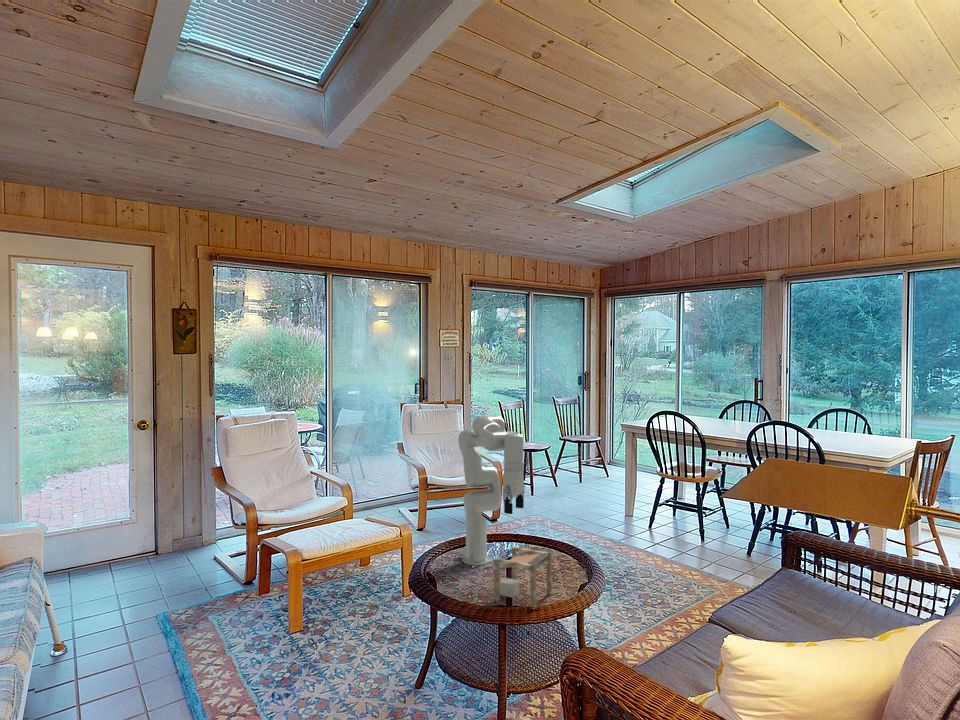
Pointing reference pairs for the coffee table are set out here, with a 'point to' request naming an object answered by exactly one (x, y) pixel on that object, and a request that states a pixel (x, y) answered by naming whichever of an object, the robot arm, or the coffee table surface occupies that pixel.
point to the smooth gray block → (509, 587)
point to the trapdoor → (525, 559)
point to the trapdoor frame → (532, 568)
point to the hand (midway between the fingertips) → (514, 510)
